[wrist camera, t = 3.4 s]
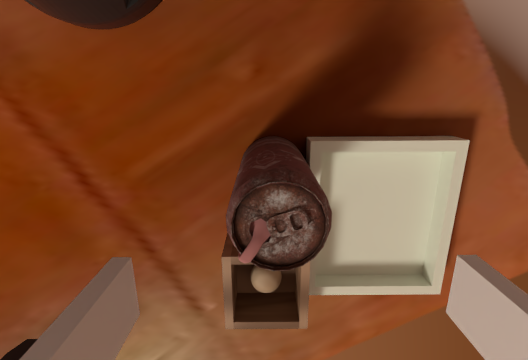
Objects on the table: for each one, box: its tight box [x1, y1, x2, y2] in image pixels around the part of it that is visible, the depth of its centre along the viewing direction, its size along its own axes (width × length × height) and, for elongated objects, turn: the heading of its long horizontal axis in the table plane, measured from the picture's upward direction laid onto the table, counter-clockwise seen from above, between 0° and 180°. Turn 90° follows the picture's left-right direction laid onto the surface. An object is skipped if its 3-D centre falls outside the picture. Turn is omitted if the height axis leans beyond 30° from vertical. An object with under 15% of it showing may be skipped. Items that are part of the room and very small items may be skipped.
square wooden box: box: [222, 233, 310, 329], centre depth 31 cm, size 8×8×5 cm
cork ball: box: [250, 266, 282, 293], centre depth 31 cm, size 3×3×3 cm
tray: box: [306, 136, 470, 295], centre depth 30 cm, size 16×14×3 cm
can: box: [226, 136, 332, 271], centre depth 23 cm, size 6×6×14 cm
